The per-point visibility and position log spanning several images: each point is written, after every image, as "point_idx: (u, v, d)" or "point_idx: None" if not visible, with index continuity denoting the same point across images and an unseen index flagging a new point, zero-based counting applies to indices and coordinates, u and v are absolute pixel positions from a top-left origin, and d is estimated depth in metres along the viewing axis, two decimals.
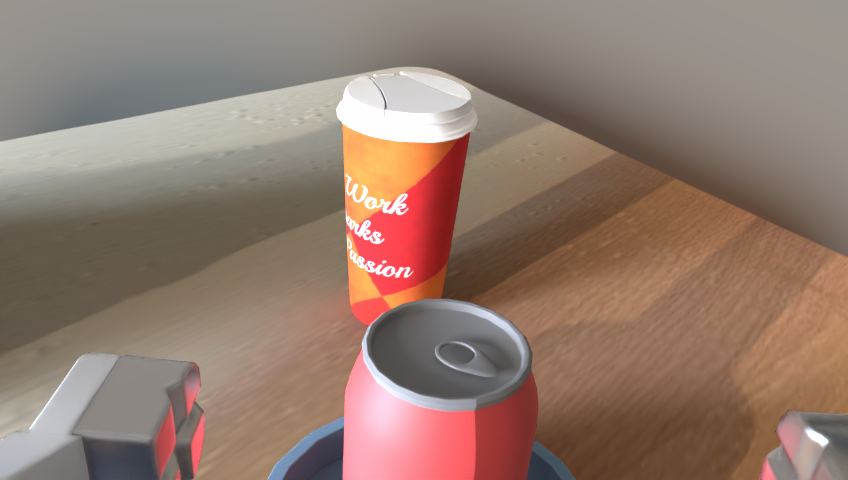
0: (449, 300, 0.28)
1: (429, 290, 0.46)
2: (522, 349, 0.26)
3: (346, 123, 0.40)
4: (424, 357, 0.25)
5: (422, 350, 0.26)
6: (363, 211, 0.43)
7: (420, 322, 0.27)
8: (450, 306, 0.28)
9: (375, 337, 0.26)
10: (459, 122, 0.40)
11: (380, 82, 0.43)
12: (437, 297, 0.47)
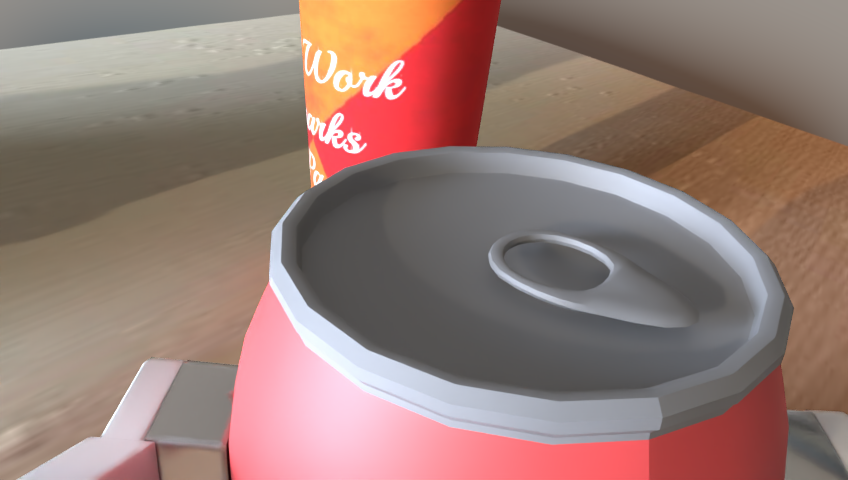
0: (513, 151, 0.11)
1: None
2: (742, 255, 0.09)
3: None
4: (457, 277, 0.08)
5: (449, 258, 0.09)
6: (331, 97, 0.26)
7: (440, 197, 0.10)
8: (515, 164, 0.11)
9: (314, 226, 0.09)
10: None
11: None
12: None
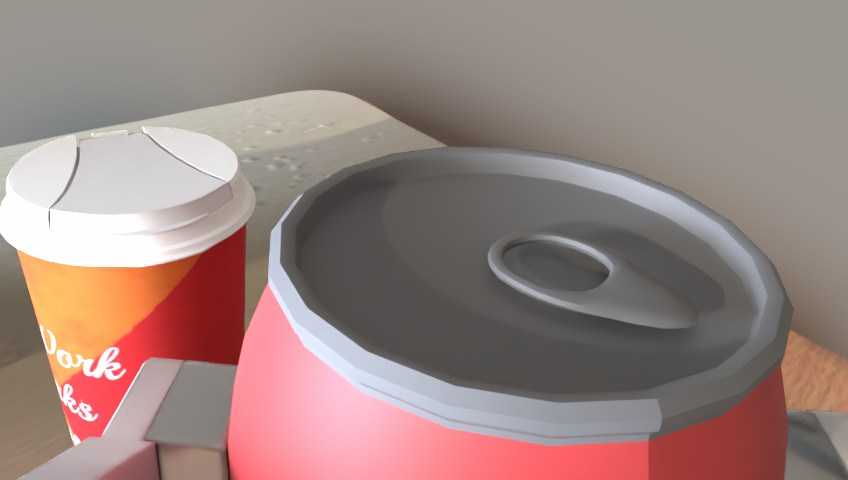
0: (512, 151, 0.11)
1: None
2: (741, 256, 0.09)
3: (0, 227, 0.23)
4: (455, 277, 0.08)
5: (449, 258, 0.09)
6: (59, 369, 0.25)
7: (439, 198, 0.10)
8: (515, 165, 0.11)
9: (313, 227, 0.09)
10: (199, 225, 0.23)
11: (89, 149, 0.25)
12: None
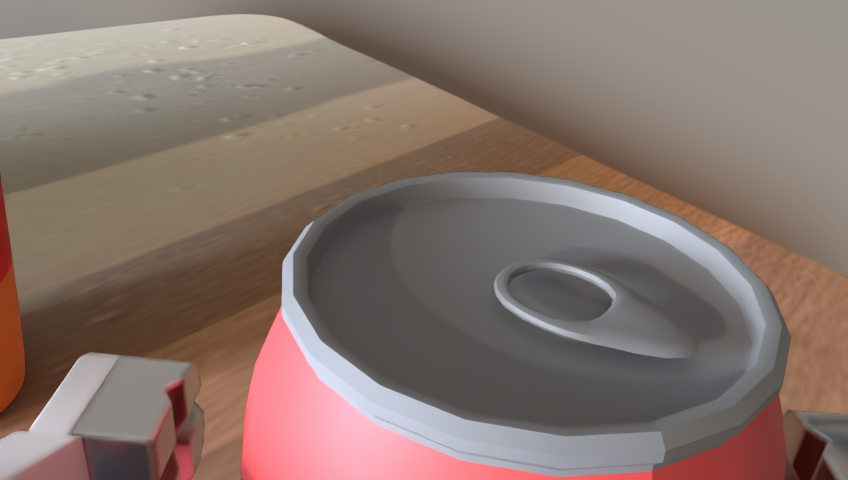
0: (516, 176, 0.11)
1: None
2: (740, 282, 0.09)
3: None
4: (462, 305, 0.09)
5: (456, 287, 0.09)
6: None
7: (445, 224, 0.10)
8: (518, 189, 0.11)
9: (323, 255, 0.09)
10: None
11: None
12: None
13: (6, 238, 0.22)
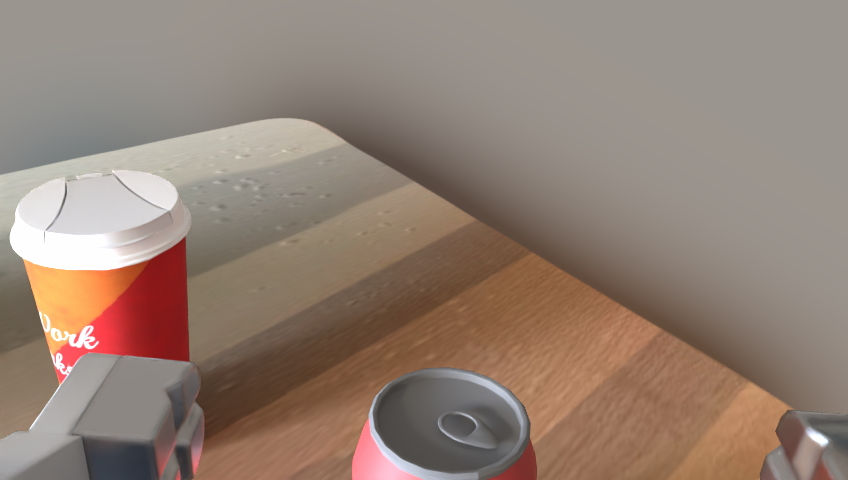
0: (450, 369, 0.29)
1: None
2: (520, 419, 0.27)
3: (12, 243, 0.33)
4: (427, 428, 0.27)
5: (426, 421, 0.27)
6: (52, 342, 0.35)
7: (423, 392, 0.28)
8: (451, 374, 0.29)
9: (381, 409, 0.27)
10: (147, 241, 0.33)
11: (73, 187, 0.36)
12: None
13: None
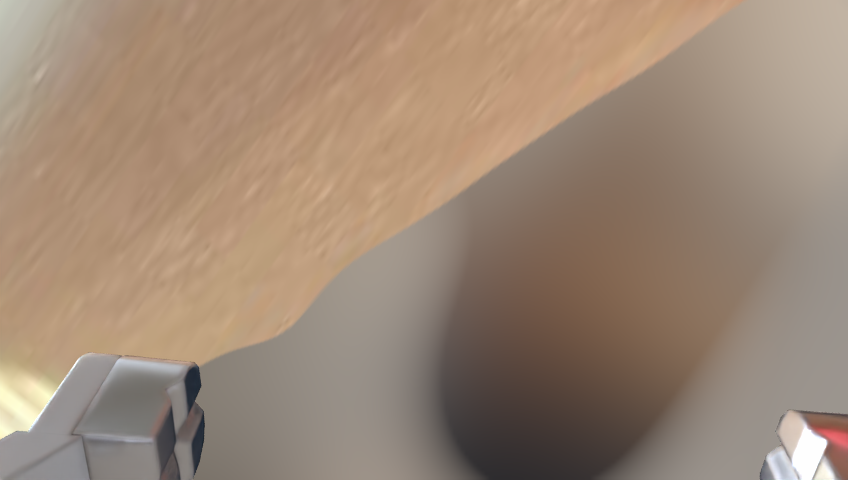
0: None
1: None
2: None
3: None
4: None
5: None
6: None
7: None
8: None
9: None
10: None
11: None
12: None
13: None
